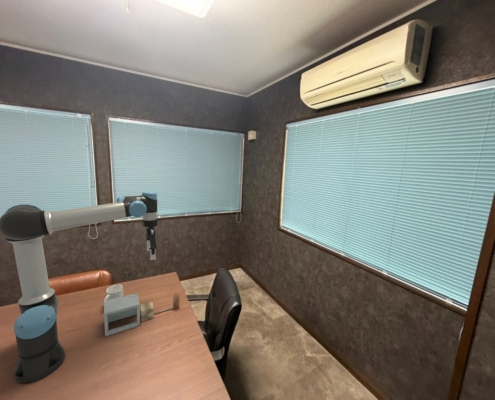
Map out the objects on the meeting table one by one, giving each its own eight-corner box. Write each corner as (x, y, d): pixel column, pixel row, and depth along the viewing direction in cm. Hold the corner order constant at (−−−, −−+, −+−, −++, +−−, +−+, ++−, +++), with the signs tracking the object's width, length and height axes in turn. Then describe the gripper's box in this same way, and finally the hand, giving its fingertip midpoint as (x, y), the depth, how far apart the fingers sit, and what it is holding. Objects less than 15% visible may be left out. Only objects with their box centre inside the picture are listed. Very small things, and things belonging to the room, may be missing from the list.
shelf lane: (105, 336, 104) (103, 313, 102) (105, 321, 114) (104, 300, 112) (140, 325, 112) (139, 304, 110) (138, 312, 122) (137, 292, 120)
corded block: (141, 321, 115) (141, 307, 114) (140, 314, 120) (140, 301, 119) (180, 309, 126) (180, 297, 125) (178, 303, 131) (178, 291, 130)
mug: (110, 314, 119) (109, 297, 117) (97, 311, 121) (96, 294, 119) (126, 301, 131) (126, 286, 129) (115, 299, 132) (114, 283, 131)
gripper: (161, 224, 112) (162, 262, 115) (153, 213, 133) (154, 246, 136) (145, 225, 108) (147, 265, 111) (140, 214, 129) (141, 248, 132)
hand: (151, 254), depth 124 cm, fingers open, 13 cm apart
